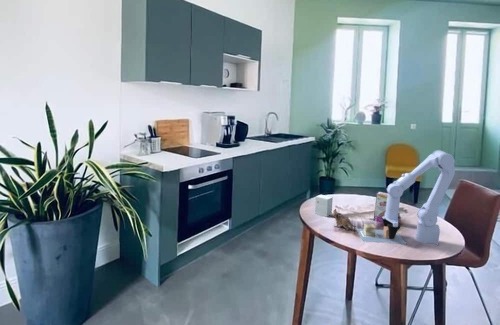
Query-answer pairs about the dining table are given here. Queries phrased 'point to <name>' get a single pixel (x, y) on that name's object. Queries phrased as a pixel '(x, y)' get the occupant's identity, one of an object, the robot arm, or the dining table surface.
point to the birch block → (369, 229)
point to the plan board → (379, 237)
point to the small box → (323, 205)
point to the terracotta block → (386, 232)
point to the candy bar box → (380, 206)
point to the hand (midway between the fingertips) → (389, 235)
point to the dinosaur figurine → (342, 220)
